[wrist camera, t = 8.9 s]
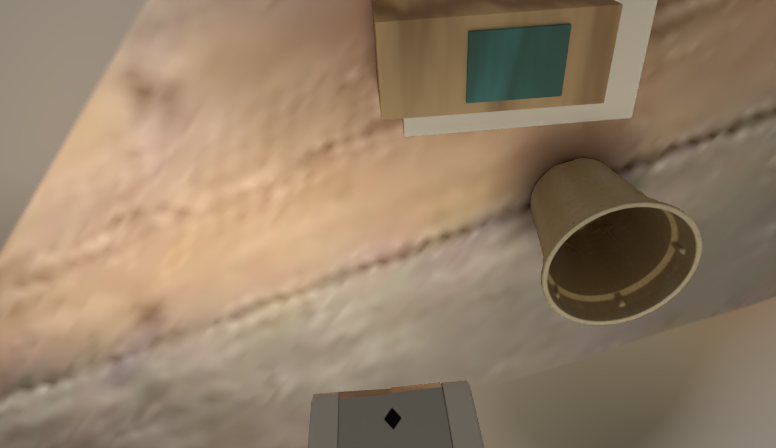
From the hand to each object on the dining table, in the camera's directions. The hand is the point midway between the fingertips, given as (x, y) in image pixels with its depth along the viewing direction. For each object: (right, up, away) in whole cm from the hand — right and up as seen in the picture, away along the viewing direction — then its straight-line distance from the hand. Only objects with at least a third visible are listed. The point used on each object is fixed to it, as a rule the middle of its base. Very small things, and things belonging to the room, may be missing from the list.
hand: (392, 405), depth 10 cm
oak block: (-1, +13, +18) cm, 22 cm away
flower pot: (+13, +6, +28) cm, 31 cm away
